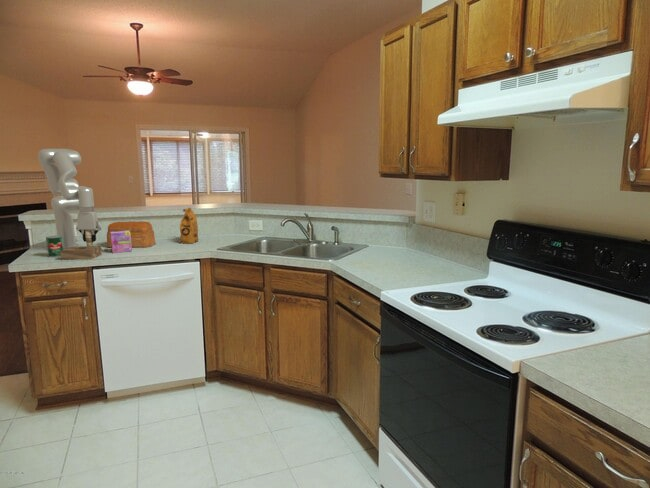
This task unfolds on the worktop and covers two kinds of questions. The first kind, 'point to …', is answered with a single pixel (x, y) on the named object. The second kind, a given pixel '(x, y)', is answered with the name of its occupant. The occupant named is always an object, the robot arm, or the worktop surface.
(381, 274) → the worktop surface
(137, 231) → the bread
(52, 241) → the canned tomato
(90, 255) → the board
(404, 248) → the worktop surface
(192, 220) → the coffee package
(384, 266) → the worktop surface
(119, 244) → the box
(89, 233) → the peg
